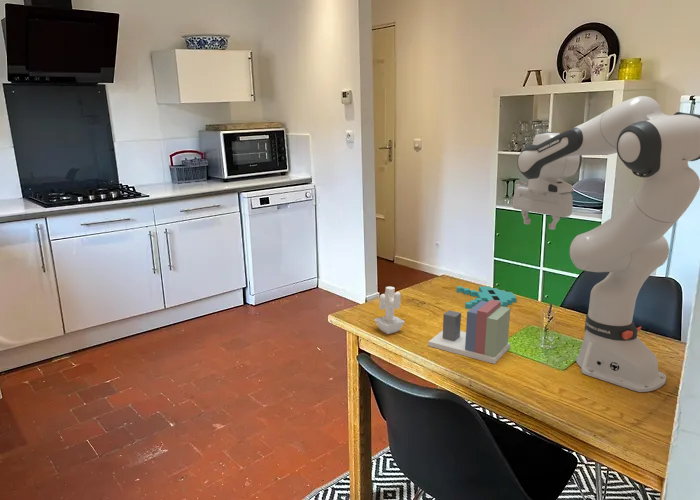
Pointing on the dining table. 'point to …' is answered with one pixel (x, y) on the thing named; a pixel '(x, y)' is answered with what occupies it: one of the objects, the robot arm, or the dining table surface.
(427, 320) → the dining table surface
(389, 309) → the figurine
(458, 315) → the bookend block
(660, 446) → the dining table surface
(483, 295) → the alien figure
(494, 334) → the shelf board
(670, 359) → the dining table surface
